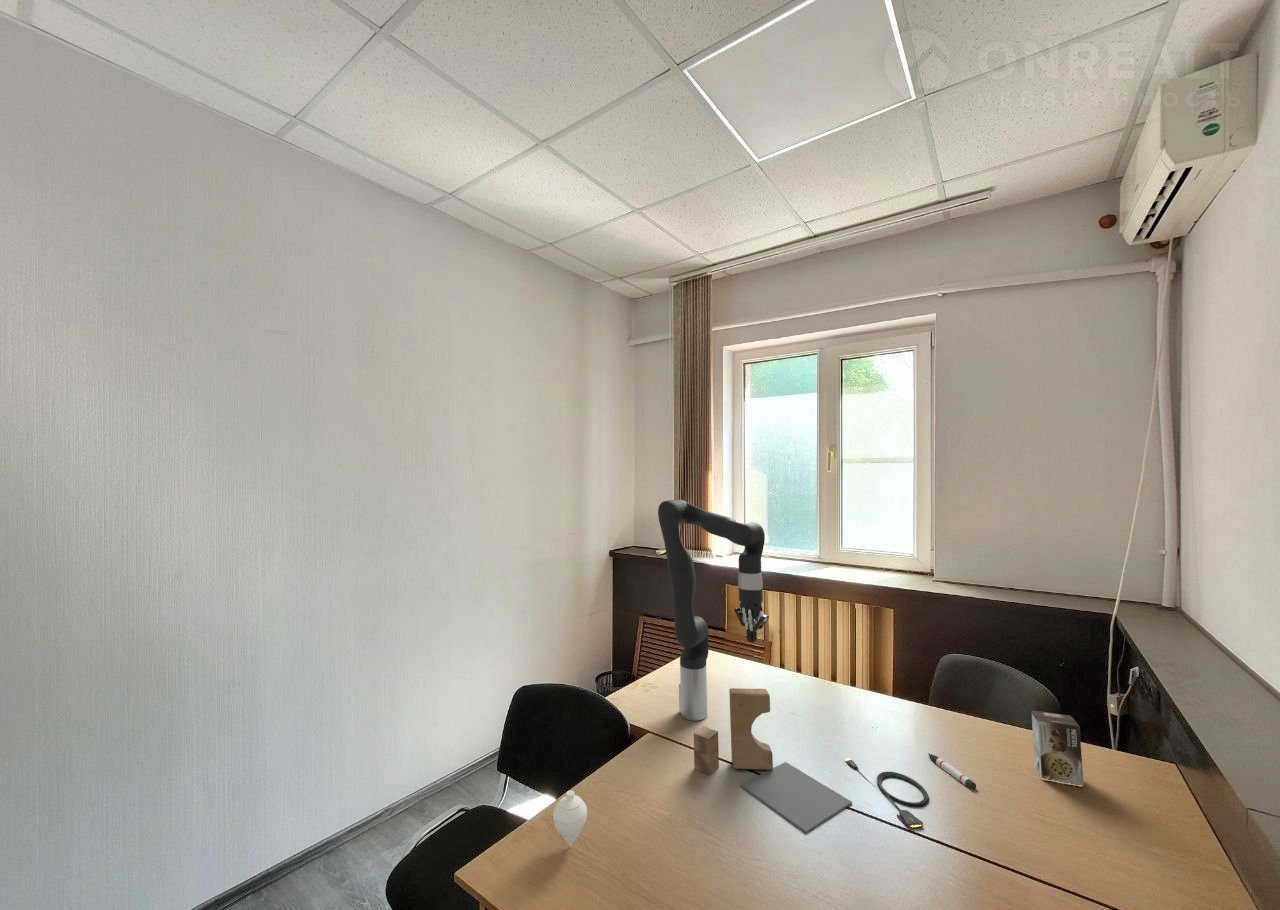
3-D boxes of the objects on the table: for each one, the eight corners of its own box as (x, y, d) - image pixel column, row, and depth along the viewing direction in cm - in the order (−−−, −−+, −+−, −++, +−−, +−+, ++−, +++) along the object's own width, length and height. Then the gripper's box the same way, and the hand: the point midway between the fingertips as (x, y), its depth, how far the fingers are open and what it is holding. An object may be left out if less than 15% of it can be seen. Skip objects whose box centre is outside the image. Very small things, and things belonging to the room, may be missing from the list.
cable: (887, 758, 143) (887, 753, 143) (961, 826, 115) (961, 820, 115) (844, 762, 142) (844, 757, 142) (908, 832, 114) (908, 826, 114)
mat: (740, 786, 131) (740, 784, 131) (785, 763, 141) (785, 761, 141) (805, 833, 113) (805, 831, 113) (851, 803, 123) (851, 801, 123)
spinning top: (558, 864, 105) (557, 807, 106) (550, 840, 112) (549, 787, 113) (592, 853, 108) (591, 797, 109) (582, 830, 115) (581, 778, 116)
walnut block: (694, 768, 139) (693, 732, 139) (704, 760, 143) (703, 725, 143) (709, 775, 136) (708, 738, 136) (718, 767, 139) (718, 731, 140)
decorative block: (770, 761, 142) (766, 688, 145) (773, 770, 136) (769, 694, 139) (731, 760, 143) (729, 687, 146) (733, 769, 137) (730, 693, 140)
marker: (976, 789, 128) (976, 781, 128) (970, 790, 128) (969, 782, 128) (931, 757, 143) (930, 750, 143) (925, 758, 143) (925, 751, 143)
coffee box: (1075, 775, 133) (1071, 715, 134) (1084, 789, 127) (1081, 726, 128) (1033, 767, 137) (1030, 709, 138) (1040, 780, 131) (1037, 719, 132)
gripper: (727, 584, 158) (728, 638, 157) (757, 591, 146) (759, 650, 146) (743, 581, 162) (744, 634, 161) (774, 588, 151) (776, 645, 150)
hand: (751, 641), depth 153 cm, fingers closed
